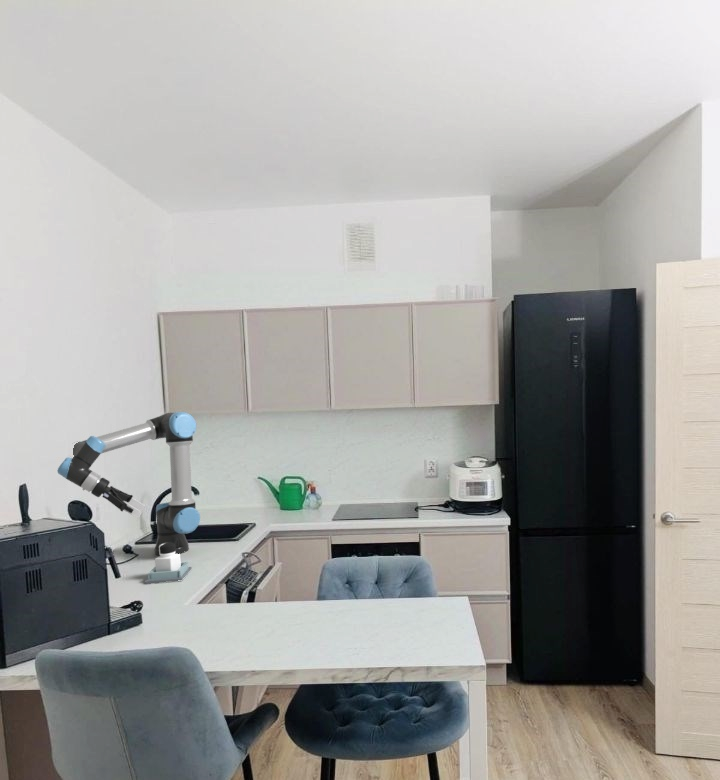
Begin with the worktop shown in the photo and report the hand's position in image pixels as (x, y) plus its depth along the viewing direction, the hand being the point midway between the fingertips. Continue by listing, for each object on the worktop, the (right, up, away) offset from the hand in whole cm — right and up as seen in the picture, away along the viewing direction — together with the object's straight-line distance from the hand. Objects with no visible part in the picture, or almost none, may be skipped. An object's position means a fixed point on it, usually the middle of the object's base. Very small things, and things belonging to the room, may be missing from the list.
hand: (142, 511), depth 244 cm
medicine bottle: (+14, -23, -9) cm, 28 cm away
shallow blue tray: (+14, -24, -9) cm, 29 cm away
